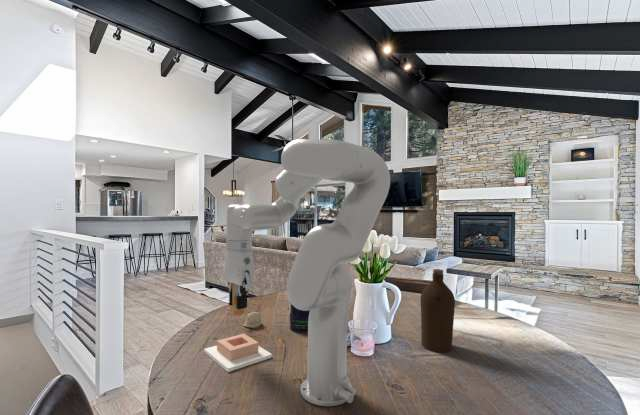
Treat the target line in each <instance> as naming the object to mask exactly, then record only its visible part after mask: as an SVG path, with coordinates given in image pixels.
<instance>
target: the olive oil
mask: <svg viewBox="0 0 640 415" xmlns="http://www.w3.org/2000/svg"><path fill="white" fill-rule="evenodd" d="M455 306H456V299H455V296H454V293H453V292H452V290H451V289H450V288H449V287H448V285H447V284H446V283H445V282H444V270H443V269H441V268H440V269H439V268H434V269H432V280H431V282H430V283H429V284H427V285H426V286H425V287H424V289H423V290H422V291H421V295H420V319H421V320H420V322H421V324H420V330H421V346H422V347H423V348H425V349H427V351H432V352H435V353H448V352H450V351H451V350H452V349H453V339H454V338H453V335H454V319H455Z"/></svg>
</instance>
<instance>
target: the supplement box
mask: <svg viewBox="0 0 640 415" xmlns="http://www.w3.org/2000/svg"><path fill="white" fill-rule="evenodd" d="M242 283H243V284H245V282H242ZM242 288H244V287H241V290H242ZM237 296H238V286H237V285H236V284H234V283H232V304H233V305H232V311H231V312H232V315H233V316H241V315H242V314H245V308H243V309H237Z"/></svg>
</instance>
